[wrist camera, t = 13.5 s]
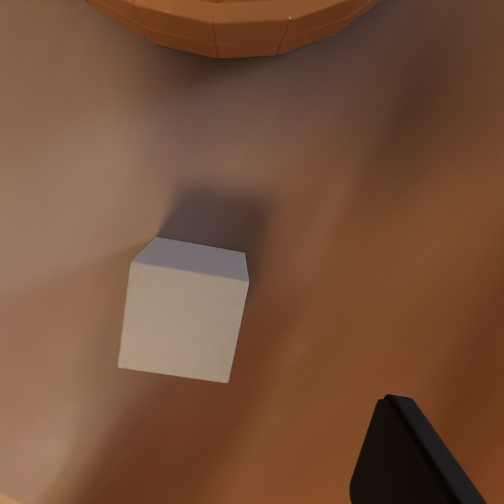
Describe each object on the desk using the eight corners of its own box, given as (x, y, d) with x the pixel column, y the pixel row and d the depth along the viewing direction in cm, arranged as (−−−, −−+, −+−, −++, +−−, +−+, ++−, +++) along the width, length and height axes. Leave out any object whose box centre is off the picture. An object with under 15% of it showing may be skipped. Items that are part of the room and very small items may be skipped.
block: (245, 252, 18) (249, 281, 13) (229, 332, 19) (228, 384, 14) (155, 236, 17) (129, 260, 13) (143, 319, 18) (116, 368, 14)
